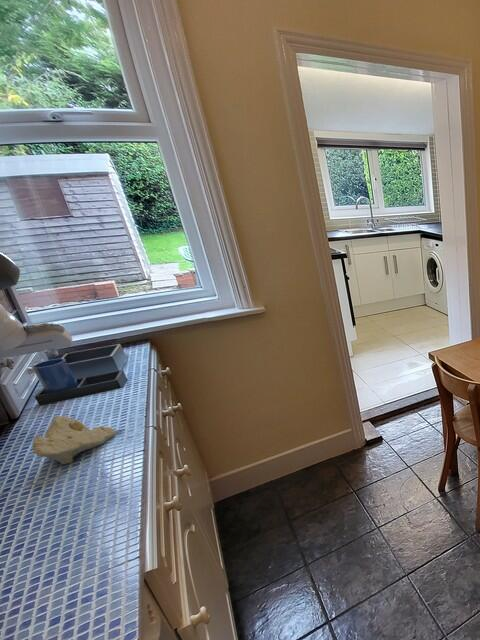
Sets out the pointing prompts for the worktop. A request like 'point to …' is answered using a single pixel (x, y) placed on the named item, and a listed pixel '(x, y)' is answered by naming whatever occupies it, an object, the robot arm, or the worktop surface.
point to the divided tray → (85, 387)
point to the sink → (96, 361)
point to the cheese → (69, 439)
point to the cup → (55, 375)
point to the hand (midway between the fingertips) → (29, 358)
